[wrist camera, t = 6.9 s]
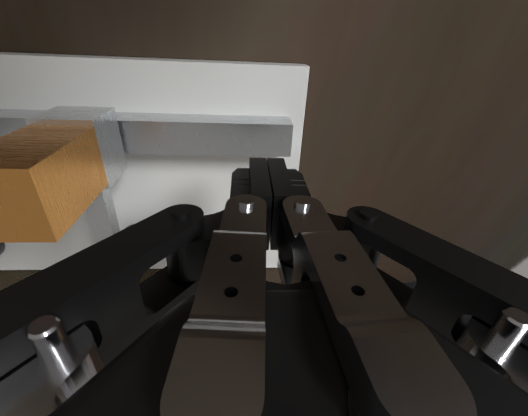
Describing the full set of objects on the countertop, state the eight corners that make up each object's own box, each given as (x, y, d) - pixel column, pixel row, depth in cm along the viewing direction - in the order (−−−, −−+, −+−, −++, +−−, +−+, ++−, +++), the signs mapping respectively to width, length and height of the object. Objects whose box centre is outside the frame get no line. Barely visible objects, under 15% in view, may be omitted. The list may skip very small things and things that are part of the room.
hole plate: (-173, 44, 17) (-237, 47, 15) (305, 64, 19) (313, 68, 17) (-40, 258, 25) (-69, 281, 23) (285, 256, 27) (289, 277, 25)
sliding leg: (62, 103, 16) (-76, 159, 9) (118, 105, 17) (24, 160, 10) (108, 260, 22) (44, 368, 15) (149, 259, 22) (105, 366, 15)
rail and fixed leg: (-158, 90, 17) (-569, 151, 8) (290, 104, 19) (329, 165, 10) (-58, 246, 23) (-241, 377, 14) (278, 244, 25) (297, 360, 16)
